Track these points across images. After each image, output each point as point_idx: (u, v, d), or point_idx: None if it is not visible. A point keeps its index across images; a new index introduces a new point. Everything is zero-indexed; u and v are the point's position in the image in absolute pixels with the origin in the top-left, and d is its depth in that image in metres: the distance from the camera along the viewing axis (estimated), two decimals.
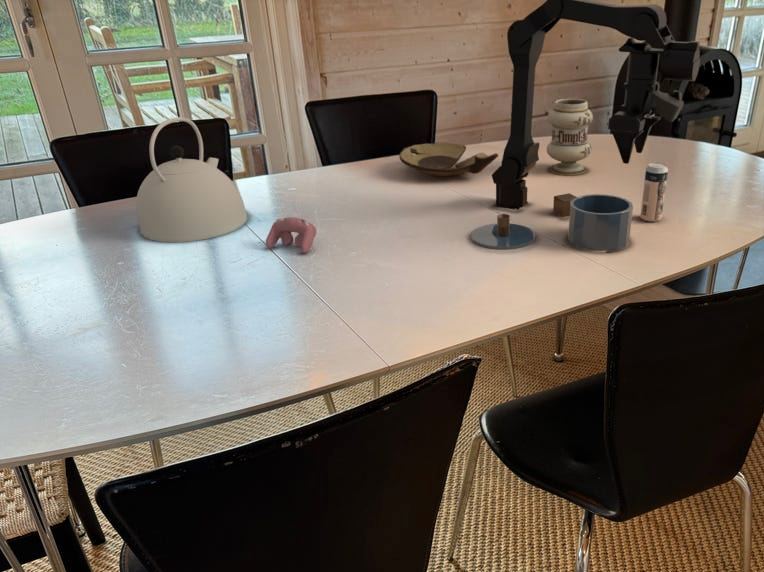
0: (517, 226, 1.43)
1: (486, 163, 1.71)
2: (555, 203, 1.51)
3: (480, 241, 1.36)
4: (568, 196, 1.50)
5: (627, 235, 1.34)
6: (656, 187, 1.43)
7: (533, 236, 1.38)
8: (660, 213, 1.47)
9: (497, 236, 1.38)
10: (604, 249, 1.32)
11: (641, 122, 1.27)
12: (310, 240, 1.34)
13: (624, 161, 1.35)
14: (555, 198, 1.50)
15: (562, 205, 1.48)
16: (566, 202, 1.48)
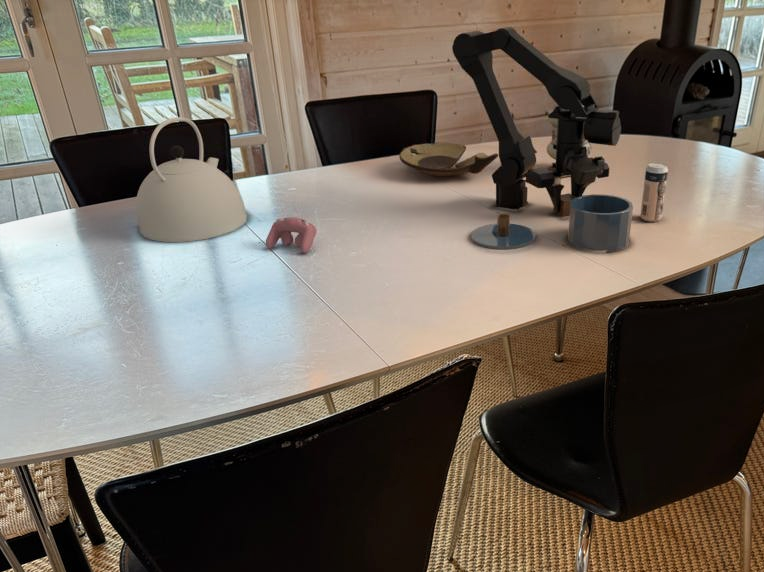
0: (517, 226, 1.43)
1: (486, 163, 1.71)
2: None
3: (480, 241, 1.36)
4: (568, 196, 1.50)
5: (627, 235, 1.34)
6: (656, 187, 1.43)
7: (533, 236, 1.38)
8: (660, 213, 1.47)
9: (497, 236, 1.38)
10: (604, 249, 1.32)
11: (545, 180, 1.41)
12: (310, 240, 1.34)
13: (556, 210, 1.51)
14: None
15: (562, 205, 1.48)
16: (566, 202, 1.48)
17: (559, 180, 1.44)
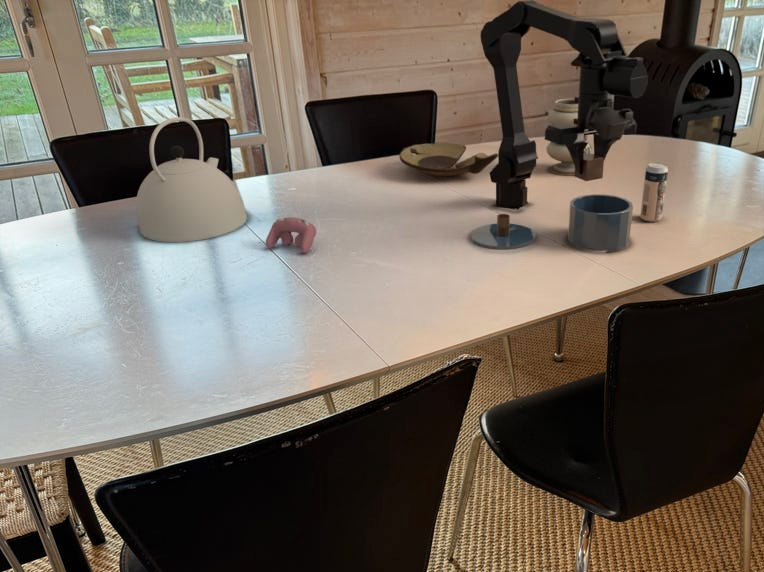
0: (517, 226, 1.43)
1: (486, 163, 1.71)
2: None
3: (480, 241, 1.36)
4: (591, 156, 1.36)
5: (627, 235, 1.34)
6: (656, 187, 1.43)
7: (533, 236, 1.38)
8: (660, 213, 1.47)
9: (497, 236, 1.38)
10: (604, 249, 1.32)
11: (567, 135, 1.28)
12: (310, 240, 1.34)
13: (578, 171, 1.37)
14: None
15: (585, 166, 1.35)
16: (590, 161, 1.34)
17: (582, 136, 1.31)
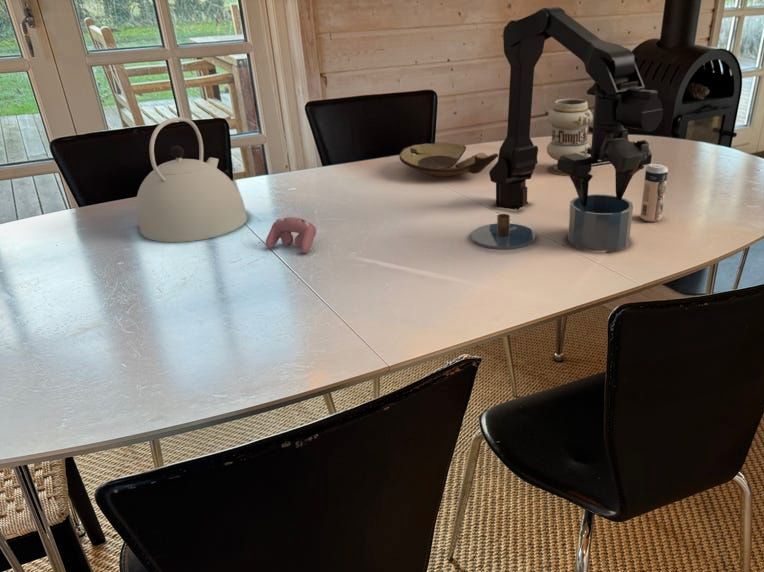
0: (517, 226, 1.43)
1: (486, 163, 1.71)
2: None
3: (480, 241, 1.36)
4: None
5: (627, 235, 1.34)
6: (656, 187, 1.43)
7: (533, 236, 1.38)
8: (660, 213, 1.47)
9: (497, 236, 1.38)
10: (604, 249, 1.32)
11: (580, 167, 1.24)
12: (310, 240, 1.34)
13: (582, 203, 1.32)
14: None
15: None
16: None
17: None
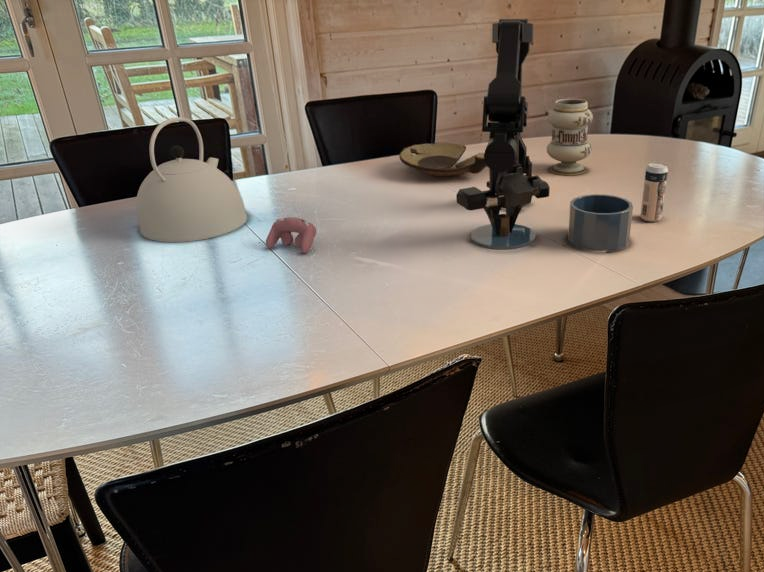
0: (517, 226, 1.43)
1: None
2: None
3: (480, 241, 1.36)
4: None
5: (627, 235, 1.34)
6: (656, 187, 1.43)
7: (533, 236, 1.38)
8: (660, 213, 1.47)
9: (497, 236, 1.38)
10: (604, 249, 1.32)
11: (475, 201, 1.29)
12: (310, 240, 1.34)
13: (495, 232, 1.38)
14: None
15: None
16: None
17: (496, 200, 1.32)
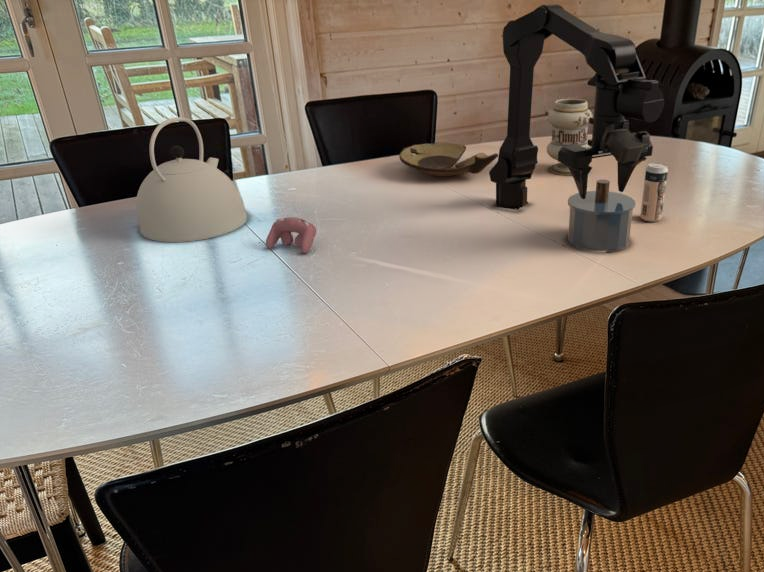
0: (613, 193, 1.38)
1: (486, 163, 1.71)
2: None
3: (580, 207, 1.30)
4: None
5: (627, 235, 1.34)
6: (656, 187, 1.43)
7: (633, 202, 1.32)
8: (660, 213, 1.47)
9: (596, 202, 1.33)
10: (604, 249, 1.32)
11: (581, 158, 1.23)
12: (310, 240, 1.34)
13: (581, 195, 1.31)
14: None
15: None
16: None
17: None
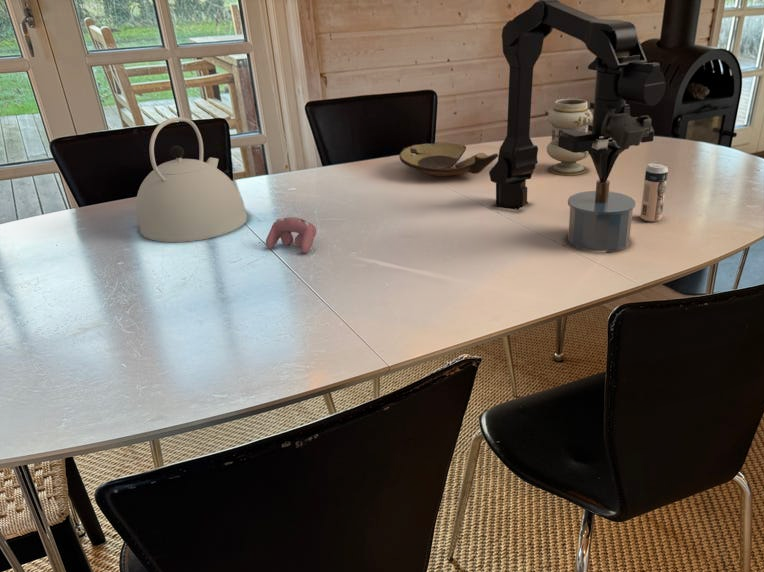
0: (613, 193, 1.38)
1: (486, 163, 1.71)
2: None
3: (580, 207, 1.30)
4: None
5: (627, 235, 1.34)
6: (656, 187, 1.43)
7: (633, 202, 1.32)
8: (660, 213, 1.47)
9: (596, 202, 1.33)
10: (604, 249, 1.32)
11: (582, 143, 1.22)
12: (310, 240, 1.34)
13: (600, 178, 1.31)
14: None
15: None
16: None
17: (606, 143, 1.25)
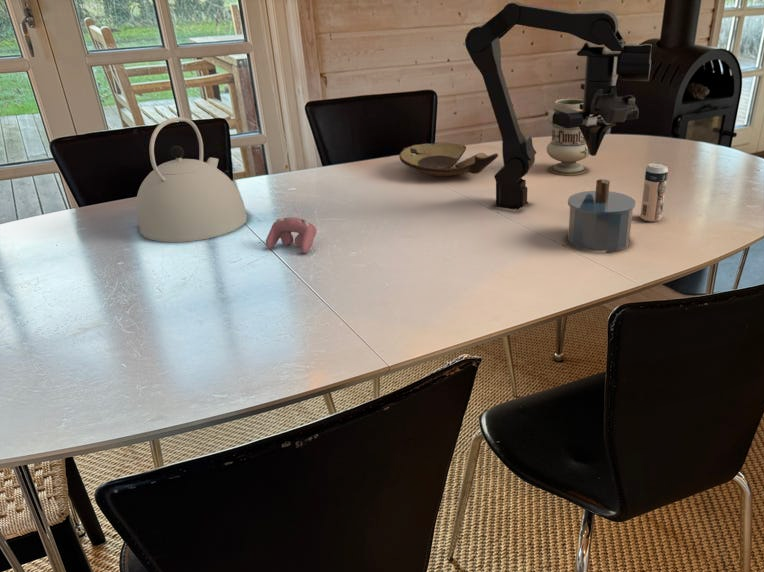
0: (613, 193, 1.38)
1: (486, 163, 1.71)
2: None
3: (580, 207, 1.30)
4: None
5: (627, 235, 1.34)
6: (656, 187, 1.43)
7: (633, 202, 1.33)
8: (660, 213, 1.47)
9: (596, 202, 1.33)
10: (604, 249, 1.32)
11: (573, 119, 1.36)
12: (310, 240, 1.34)
13: (590, 153, 1.46)
14: None
15: None
16: None
17: (595, 120, 1.40)
